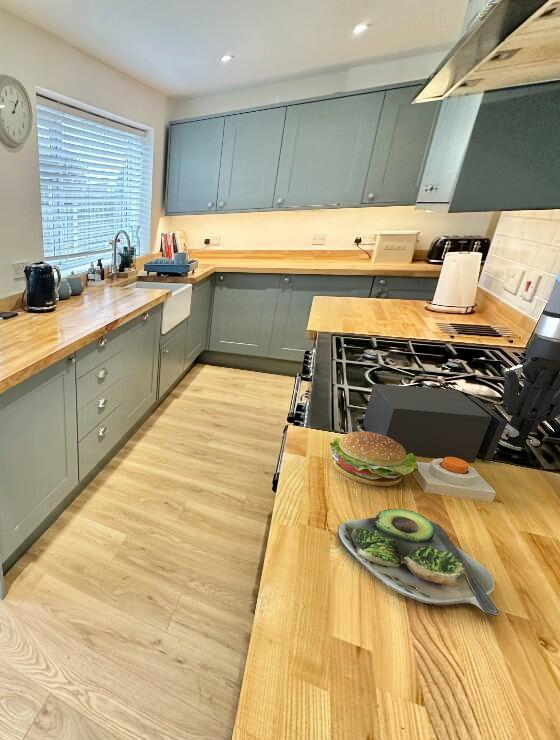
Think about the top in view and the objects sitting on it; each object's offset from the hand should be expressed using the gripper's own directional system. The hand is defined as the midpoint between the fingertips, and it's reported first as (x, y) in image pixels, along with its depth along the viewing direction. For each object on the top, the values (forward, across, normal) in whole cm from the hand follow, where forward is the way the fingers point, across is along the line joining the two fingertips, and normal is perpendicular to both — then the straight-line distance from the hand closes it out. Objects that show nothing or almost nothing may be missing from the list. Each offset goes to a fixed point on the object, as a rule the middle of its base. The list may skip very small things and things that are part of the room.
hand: (514, 443), depth 89 cm
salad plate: (+3, -31, -41) cm, 52 cm away
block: (+2, -17, -17) cm, 24 cm away
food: (+3, -30, -16) cm, 35 cm away
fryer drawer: (+1, -12, 0) cm, 12 cm away
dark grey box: (+2, -17, 0) cm, 17 cm away
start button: (-1, -17, -17) cm, 24 cm away
